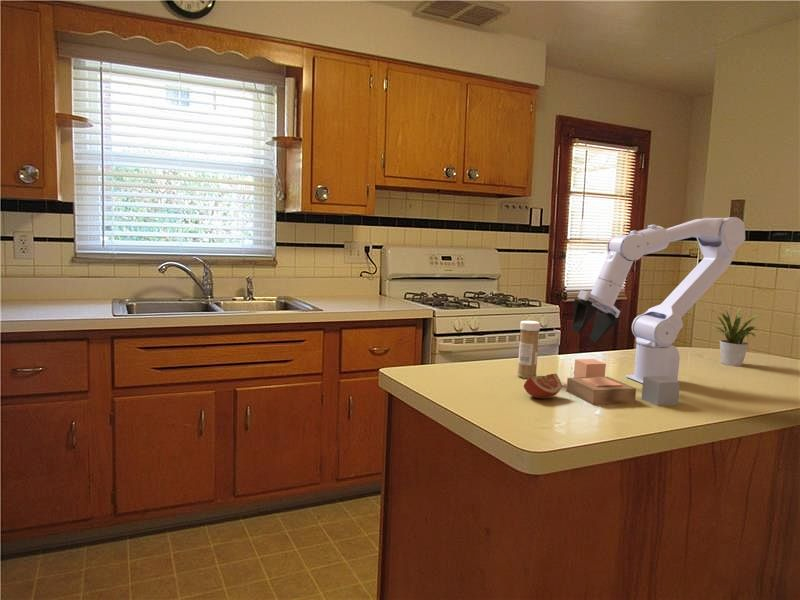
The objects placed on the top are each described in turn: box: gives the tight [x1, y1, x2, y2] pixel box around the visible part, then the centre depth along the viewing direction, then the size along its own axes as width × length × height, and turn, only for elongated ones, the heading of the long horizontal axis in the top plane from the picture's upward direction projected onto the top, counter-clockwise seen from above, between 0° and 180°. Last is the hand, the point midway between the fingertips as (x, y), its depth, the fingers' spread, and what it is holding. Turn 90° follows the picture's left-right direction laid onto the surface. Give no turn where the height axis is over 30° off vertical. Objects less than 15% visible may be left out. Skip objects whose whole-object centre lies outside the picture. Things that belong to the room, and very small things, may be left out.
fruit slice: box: [523, 373, 563, 399], centre depth 123 cm, size 8×7×5 cm
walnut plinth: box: [566, 376, 637, 406], centre depth 125 cm, size 10×10×4 cm
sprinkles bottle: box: [517, 320, 541, 380], centre depth 140 cm, size 5×5×14 cm
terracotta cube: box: [573, 358, 607, 378], centre depth 138 cm, size 5×5×5 cm
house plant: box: [706, 306, 761, 367], centre depth 165 cm, size 14×14×16 cm
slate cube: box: [641, 376, 681, 407], centre depth 123 cm, size 5×5×5 cm
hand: (584, 336), depth 136 cm, fingers open, 7 cm apart
